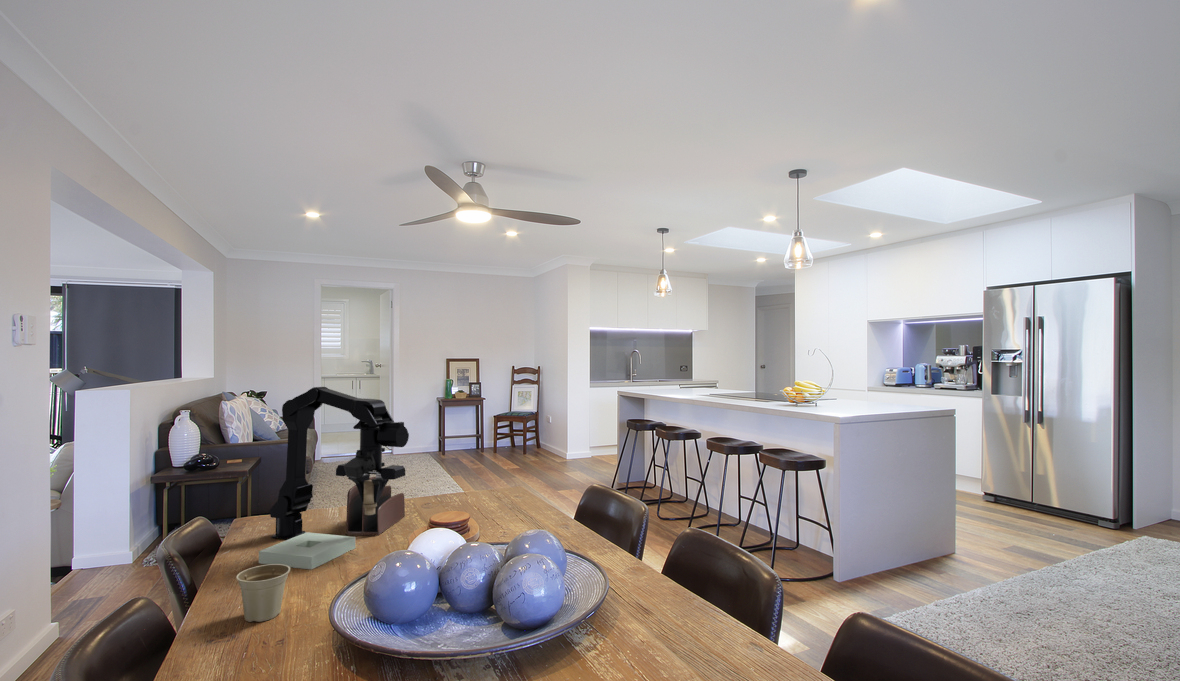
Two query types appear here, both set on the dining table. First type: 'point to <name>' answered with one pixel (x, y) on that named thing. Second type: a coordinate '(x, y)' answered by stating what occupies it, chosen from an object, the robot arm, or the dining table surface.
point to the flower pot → (262, 591)
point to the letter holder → (375, 524)
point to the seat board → (307, 550)
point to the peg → (369, 498)
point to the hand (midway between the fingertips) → (370, 502)
